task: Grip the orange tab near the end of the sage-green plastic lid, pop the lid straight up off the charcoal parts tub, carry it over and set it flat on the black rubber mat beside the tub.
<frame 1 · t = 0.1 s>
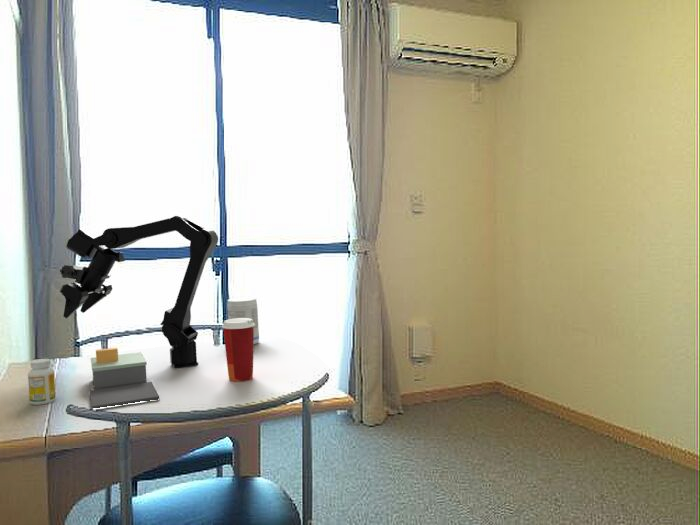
hand: (73, 314, 168), 15 cm above the table, tool tilted 35°, fingers open, 9 cm apart
coffee cup: (240, 379, 151), on the table
lid: (118, 362, 151), point 5 cm above the table, touching tub
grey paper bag: (244, 344, 193), on the table
supplement bottle: (43, 402, 137), on the table
tub: (119, 382, 151), on the table
mat: (124, 397, 138), on the table
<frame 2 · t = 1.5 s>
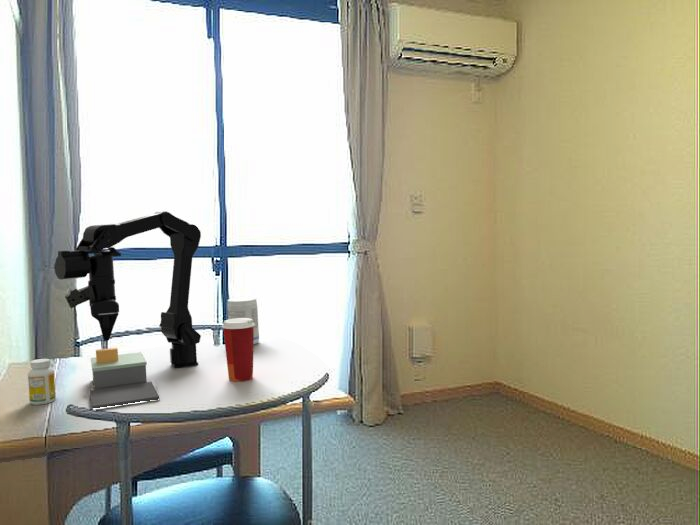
hand: (105, 337, 149), 12 cm above the table, tool pointing down, fingers open, 9 cm apart
nothing on the table moved.
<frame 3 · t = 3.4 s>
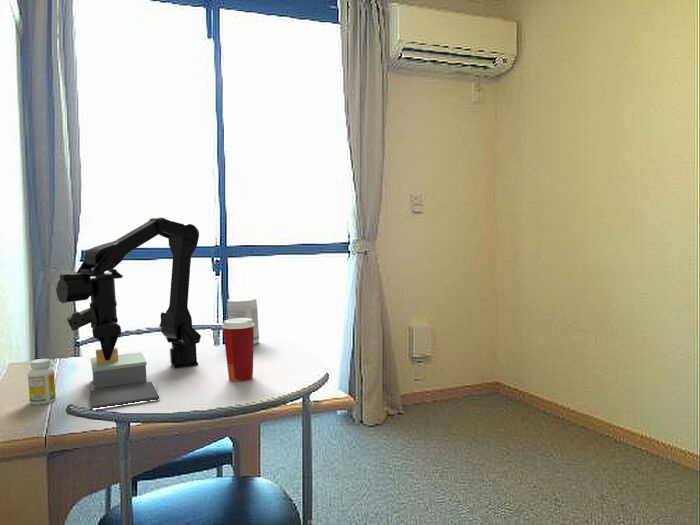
hand: (107, 359, 150), 6 cm above the table, tool pointing down, fingers closed on lid
lid: (118, 362, 151), point 5 cm above the table, touching gripper, tub
everything else where it was.
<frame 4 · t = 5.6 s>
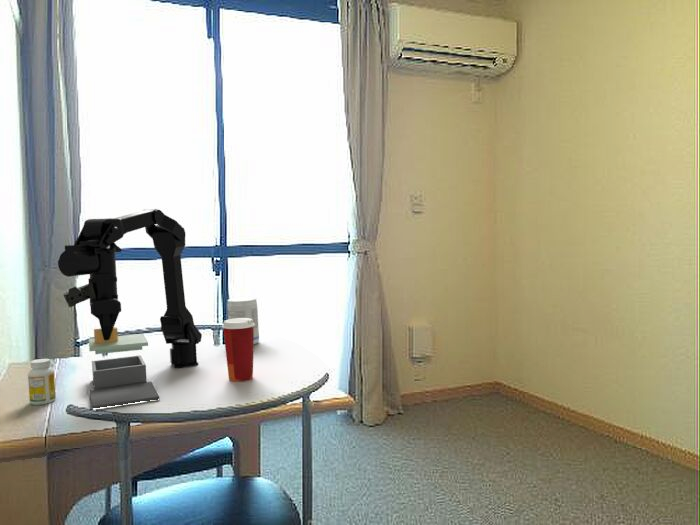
hand: (106, 339, 139), 13 cm above the table, tool pointing down, fingers closed on lid
lid: (117, 343, 140), point 12 cm above the table, touching gripper
everything else where it was.
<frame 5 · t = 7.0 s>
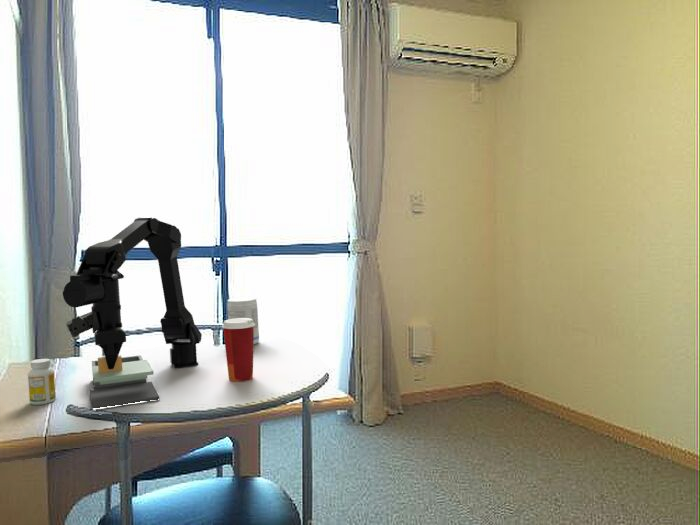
hand: (110, 367, 136), 7 cm above the table, tool pointing down, fingers closed on lid
lid: (122, 372, 138), point 6 cm above the table, touching gripper
everything else where it was.
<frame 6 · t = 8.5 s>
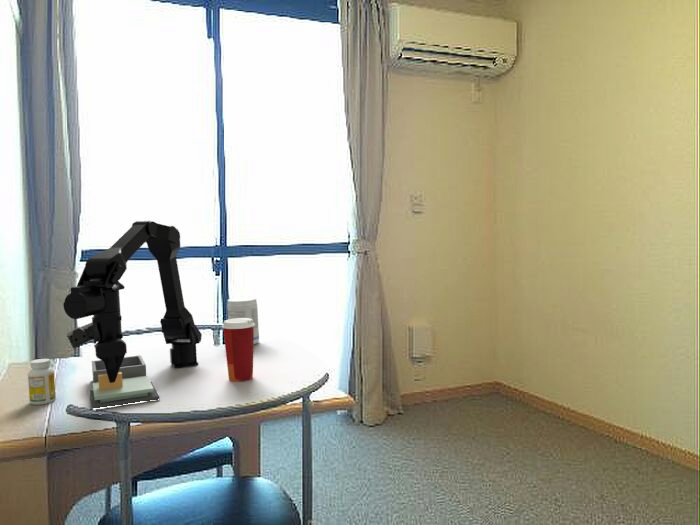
hand: (111, 378, 137), 5 cm above the table, tool pointing down, fingers open, 7 cm apart
lid: (122, 388, 138), point 2 cm above the table, touching mat
everything else where it was.
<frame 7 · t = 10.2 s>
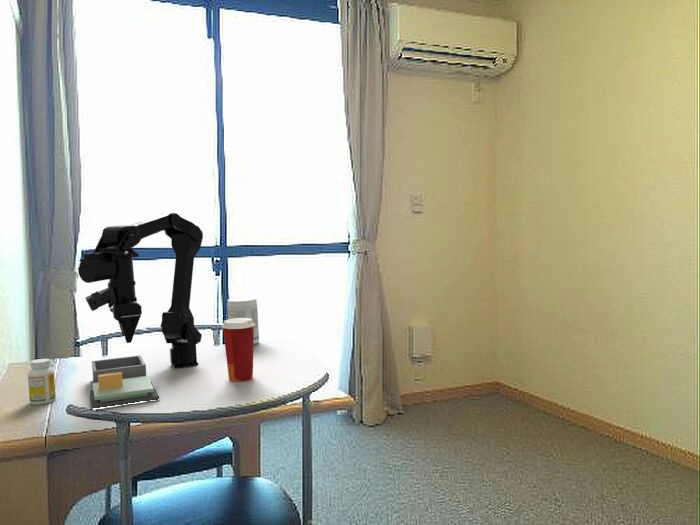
hand: (126, 339, 148), 11 cm above the table, tool pointing down, fingers open, 9 cm apart
nothing on the table moved.
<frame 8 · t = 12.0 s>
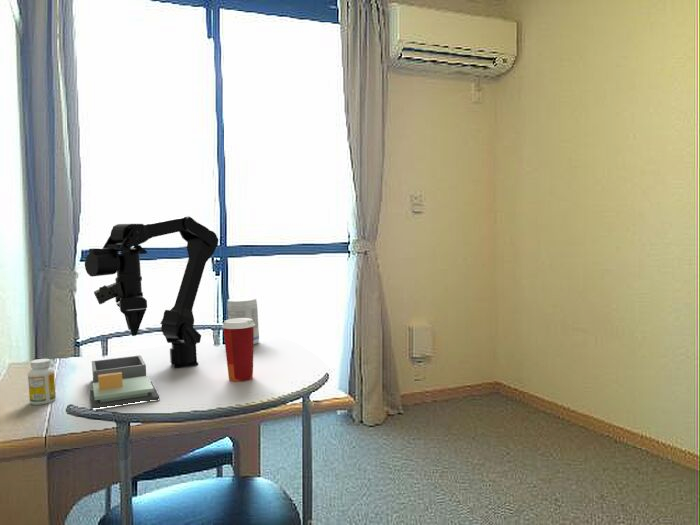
hand: (132, 332, 154), 12 cm above the table, tool pointing down, fingers open, 9 cm apart
nothing on the table moved.
at the end: lid inside the target area on the mat (0.2 cm from its centre), point 2.0 cm above the mat's base; lid tilted 0°; lid touching mat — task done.
